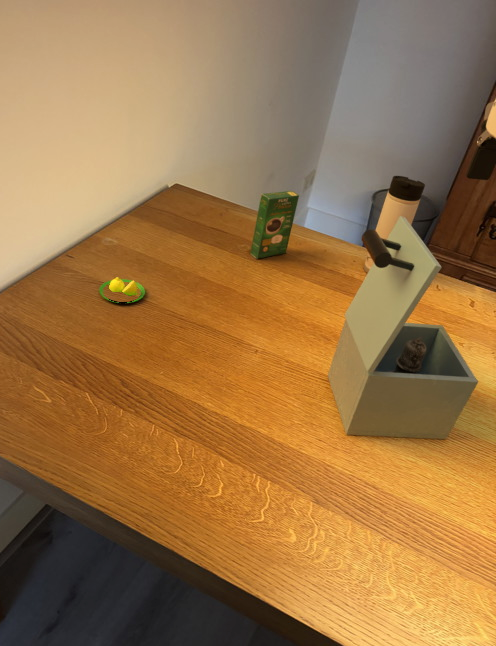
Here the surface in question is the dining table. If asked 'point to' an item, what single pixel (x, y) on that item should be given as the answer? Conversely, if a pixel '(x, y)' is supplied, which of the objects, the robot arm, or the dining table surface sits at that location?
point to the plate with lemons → (123, 288)
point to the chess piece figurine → (411, 357)
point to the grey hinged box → (401, 387)
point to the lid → (389, 289)
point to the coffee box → (274, 223)
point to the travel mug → (397, 207)
